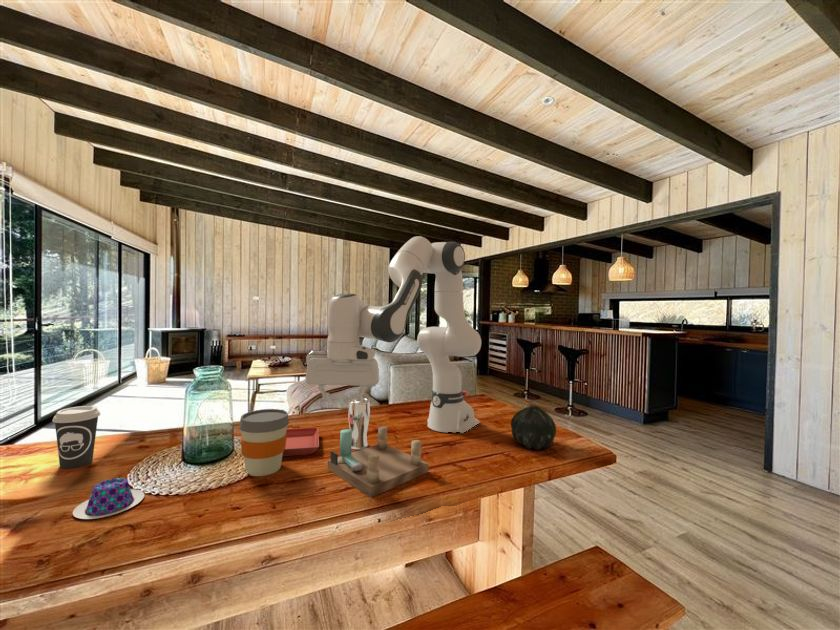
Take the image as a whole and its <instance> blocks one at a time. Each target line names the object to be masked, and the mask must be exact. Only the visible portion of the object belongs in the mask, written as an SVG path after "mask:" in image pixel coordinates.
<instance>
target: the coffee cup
mask: <svg viewBox="0 0 840 630" xmlns="http://www.w3.org/2000/svg"><path fill="white" fill-rule="evenodd" d="M100 416H101V412H100V410H99V409H98V408H97V406H95V405H94V406H93V405H82V406H81V405H79V406H74V407H73V406H71V407H67V408H63V409H60V410H58V411H57V412H56V413H55V415H54V416H53V418H52V422H53V423H54V426H55V427H54V428H55V434H56V436H55V437H56V445H57V452H58V454H57V455H58V461H59V463H58V464H59V468H60V469H63V470H64V469H65V470H69V469H76V468H80V467H83V466H86V465H87V466H88V465H89V464H91V463H92V462H93V459H94V452H95V442H96V437H97V436H96V435H97V428H98V427H97V426H98V420H99V417H100Z"/></svg>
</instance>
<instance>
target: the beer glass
mask: <svg viewBox="0 0 840 630" xmlns="http://www.w3.org/2000/svg"><path fill="white" fill-rule="evenodd" d="M356 399H357V398H353V399H350V400H349V403H348V412H347V413H348V415H347V416H348V424H349V425H348V426H349V430H352V446H351V450H356V451H359V450H362V449H365V448H368V445H369V444H368V437H367V434H368V429H369V423H370V417H371V408H370V407H371V406H370V402H371V401H370V399H367V398H362V401H356Z"/></svg>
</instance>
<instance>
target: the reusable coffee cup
mask: <svg viewBox="0 0 840 630" xmlns="http://www.w3.org/2000/svg"><path fill="white" fill-rule="evenodd" d="M288 425H289V414H288V412H287V411H286V410H283V409H279V408H266V409H265V408H264V409H263V408H262V409H256V410H251V411H248V412H246V413H244V414H242V415H240V420H239V425H238V427H239V430H240V433H241V436H240V438H239V439H240V440H239V441H240V448H241V455H242V457H243V459H244V466H245V472H246V471H247V472H248V473H250V475H249V476H252V477H265V476H269V475H272V474H276V473H277V472H278V471H280V470H281V466H282V460H283V456H282V455H283V451H284V450H285V446H286V439H287V431H286V429H288Z"/></svg>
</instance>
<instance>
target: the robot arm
mask: <svg viewBox="0 0 840 630" xmlns="http://www.w3.org/2000/svg"><path fill="white" fill-rule="evenodd" d="M465 261H466V251H465V249H464V247H463V246H462V245H461V244H460V243H459V242H455V241H441V242H439V241H438V242H432V243H431V242H430V241H429V239H427V238H426V237H423V236H421V235H419V236H413V237H411V238H410V239H409V240H407V241H406V242H405V243H404V244H403V245H402V246H401V247H400V249H398V251H397V252H396V253H395V254H394V256H393V257H392V259H391V260H390V262H389V264H388V269H387V270H388V271H387V272H388V276H389V278H390V279H391V281H392V283H394V284H395V285H396V286H397V287H398V290H397V292H396V293H395V294H396V295H395V296H394V298H393V300H392V301H391V302H390V303H389V304H387V305H382V306H379V305H378V306H377V305H376V306H375V305H370V304H367V303H366V302H365V301H363V300H362V299H360V298H359V296H358V294H356V293H352V292H351V293H341V294H336V295H334V296H332V297H331V298H330V300H329V303H328V307H327V308H328V309H327V326H326V327H327V329H328V336H327V339H326V340H327V341H326V350H318V351H317V350H311V351H310V352H308V353H307V354H306V357H305V362H306V363H305V364H306V365H307V367H306V371H305V382H306V383H307V384H308V385H315V386H316V385H318V388H317V389H318V390H319V392H320V393H321V395H322V398H321V399H322V401H329V400H330V392H327V391H326V389H325V388H326V386H355V387H357V386H358V387H360V390H361V392H360V393H357V394H356V395H355V399H356V401H362V399H363V396H364V395H363V394H364V393H365V391H366V389H367V387H376V386H377V385H378V384H379V382H380V369H379V364H378V361H377V359H376V358H375V356H376V351H375V349H373V348H370V347H366V346H364V345H361V344H360V338H364V339H365V338H366V339H369V340H378V341H382V342H385V343H393V342H397V340H399V338H400V337H402V335H403V333H404V332H405V330H406V325H407V322H408V319H409V316H410V313H411V311H412V309H413V307H414V304H415V302H416V300H417V298H418V296H419V294H420V292H421V288H422V286H423V274H434V275H435V281H434V311H435V313H436V315H437V316H439V317H441V319H442V318H443V320H444V321H445V322H446V323H447V326H428V327H423V328H422V329H421V330H419V332H418V334H417V338H416V339H417V340H416V343H417V346H418V348H419V350H420V351H421V352H422V353H423V354H424V355H425V356H426V358H427V359H428V361H429V363H430V367H431V370H432V389H431V393H430V394H431V397H430V399H431V402H430V407H429V414H428V418H427V425H426V426H427V428H428V429H431V430H432V431H435V432H441V433H448V432H452V433H456V432H460V433H459V434H465V433H464V432H466V431H467V432H468V430H469V429H470V430H472V429H473V428H472V427H474V426H475V425H477V424H479V423H480V424H481V421H480V420H479V419H477V418H475V411H474V408H473V407H472V405H470V404H469V403H467V401H465V398H464V397H468V395H469V392H468V391H466V390H462V371H461V369H460V368H459V367H457V366H456V365H455V364H453V362H451V360H450V358H449V357H450V356H452V357H467V358H468V357H472V356H476V355H477V354H478V353H479V352H480V350H481V349H482V348H481V347H482V338H481V335H480V333H479V332H478V331H477V330H476V329H474V328H473V327H472V326H471V325H470V323H469V322H468V319H467V318H466V313H465V309H464V308H465V307H464V280H463V279H464V278H463V273H462V269H463V267H464V264H465ZM480 424H479V425H480ZM477 426H478V425H477ZM475 427H476V426H475ZM475 427H474V428H475ZM471 428H472V429H471ZM470 430H469V431H470ZM467 432H466V433H467Z"/></svg>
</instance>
